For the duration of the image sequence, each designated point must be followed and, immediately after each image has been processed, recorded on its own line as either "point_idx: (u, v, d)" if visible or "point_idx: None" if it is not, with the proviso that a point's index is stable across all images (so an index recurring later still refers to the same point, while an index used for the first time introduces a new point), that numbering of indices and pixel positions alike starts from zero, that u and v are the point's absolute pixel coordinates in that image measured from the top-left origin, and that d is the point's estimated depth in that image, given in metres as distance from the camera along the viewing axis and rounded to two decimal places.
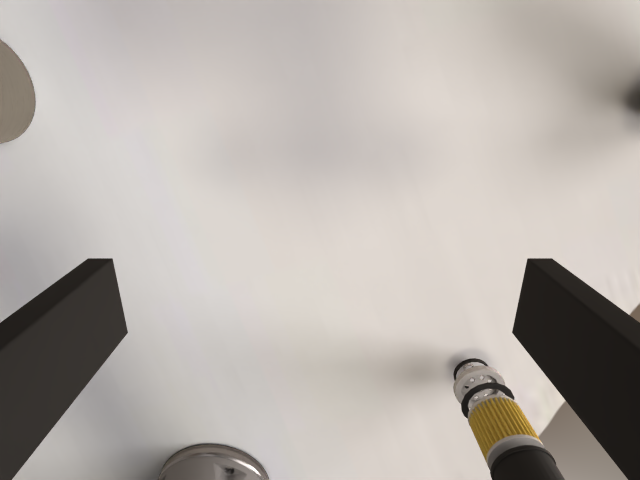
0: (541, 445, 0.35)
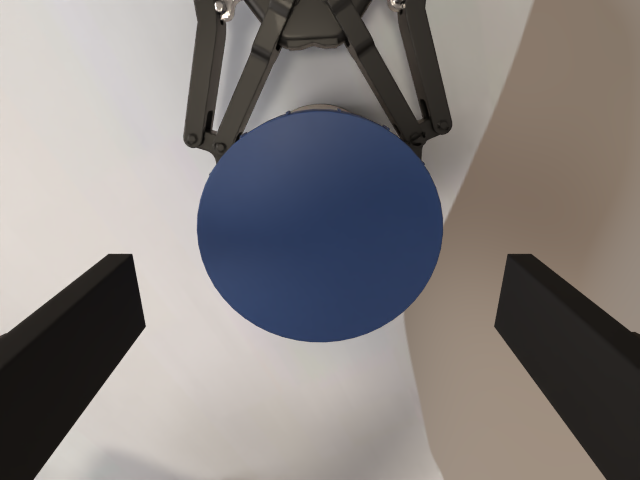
0: None
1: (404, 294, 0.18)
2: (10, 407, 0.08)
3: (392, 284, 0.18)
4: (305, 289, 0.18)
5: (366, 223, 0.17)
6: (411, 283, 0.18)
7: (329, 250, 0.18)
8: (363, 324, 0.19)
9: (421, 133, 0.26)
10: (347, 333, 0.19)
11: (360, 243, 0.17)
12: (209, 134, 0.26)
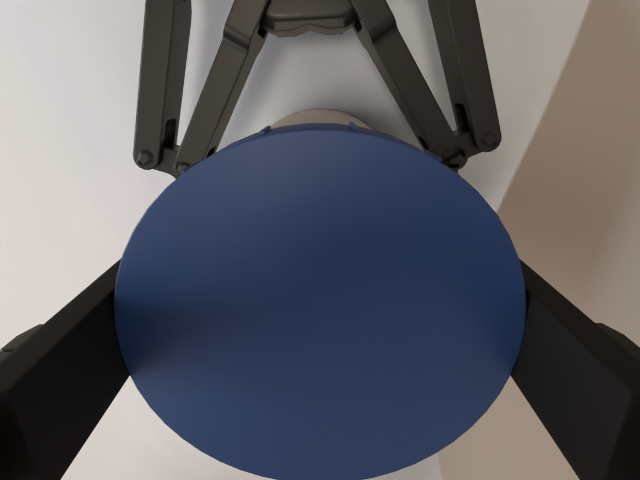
0: None
1: (455, 418, 0.12)
2: (52, 392, 0.08)
3: (437, 404, 0.11)
4: (296, 411, 0.11)
5: (398, 314, 0.10)
6: (467, 403, 0.11)
7: (335, 355, 0.11)
8: (388, 460, 0.12)
9: (459, 150, 0.19)
10: (363, 472, 0.12)
11: (387, 345, 0.11)
12: (169, 151, 0.19)
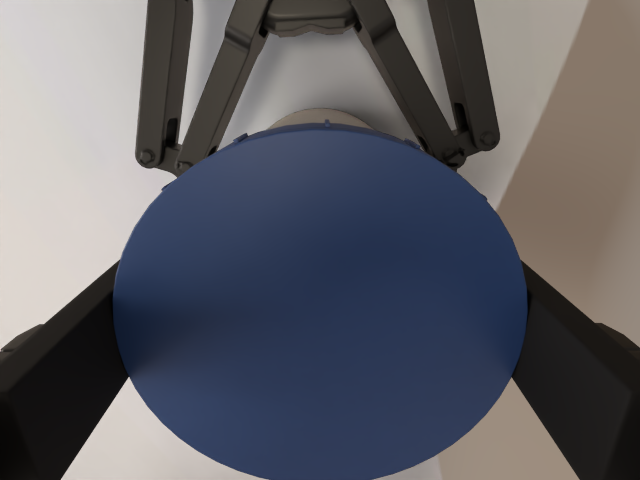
0: None
1: (477, 232, 0.09)
2: (52, 393, 0.08)
3: (446, 249, 0.10)
4: (399, 381, 0.11)
5: (312, 266, 0.10)
6: (459, 215, 0.09)
7: (343, 332, 0.10)
8: (506, 314, 0.10)
9: (458, 149, 0.19)
10: (511, 342, 0.10)
11: (346, 284, 0.10)
12: (171, 150, 0.19)
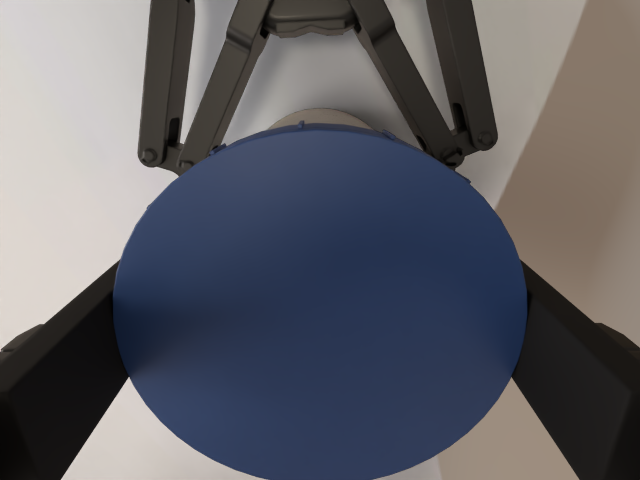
0: None
1: (235, 175, 0.09)
2: (52, 393, 0.08)
3: (247, 208, 0.09)
4: (395, 281, 0.10)
5: (238, 327, 0.10)
6: (212, 190, 0.09)
7: (316, 319, 0.10)
8: (343, 157, 0.09)
9: (456, 149, 0.19)
10: (385, 155, 0.09)
11: (263, 304, 0.10)
12: (173, 149, 0.20)
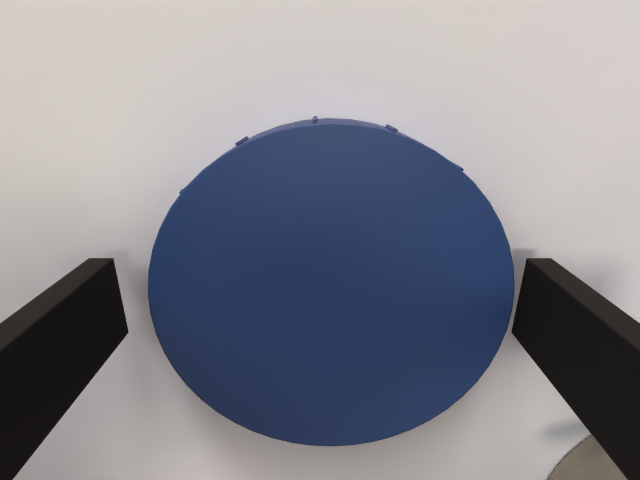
0: None
1: (258, 163, 0.10)
2: None
3: (268, 192, 0.10)
4: (397, 258, 0.11)
5: (258, 299, 0.12)
6: (238, 176, 0.10)
7: (327, 291, 0.12)
8: (352, 148, 0.10)
9: None
10: (388, 146, 0.10)
11: (281, 278, 0.11)
12: None
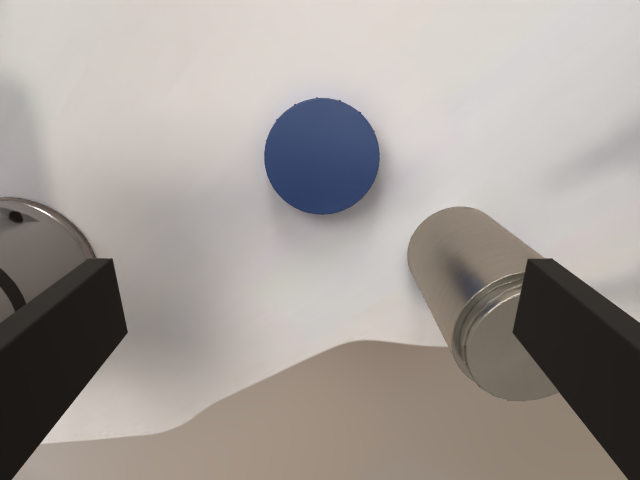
0: None
1: (300, 110, 0.36)
2: None
3: (303, 119, 0.36)
4: (342, 140, 0.37)
5: (299, 155, 0.37)
6: (294, 114, 0.36)
7: (320, 152, 0.37)
8: (327, 105, 0.35)
9: None
10: (338, 105, 0.35)
11: (306, 147, 0.37)
12: None
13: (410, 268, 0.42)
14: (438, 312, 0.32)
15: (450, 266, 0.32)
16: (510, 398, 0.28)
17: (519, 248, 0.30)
